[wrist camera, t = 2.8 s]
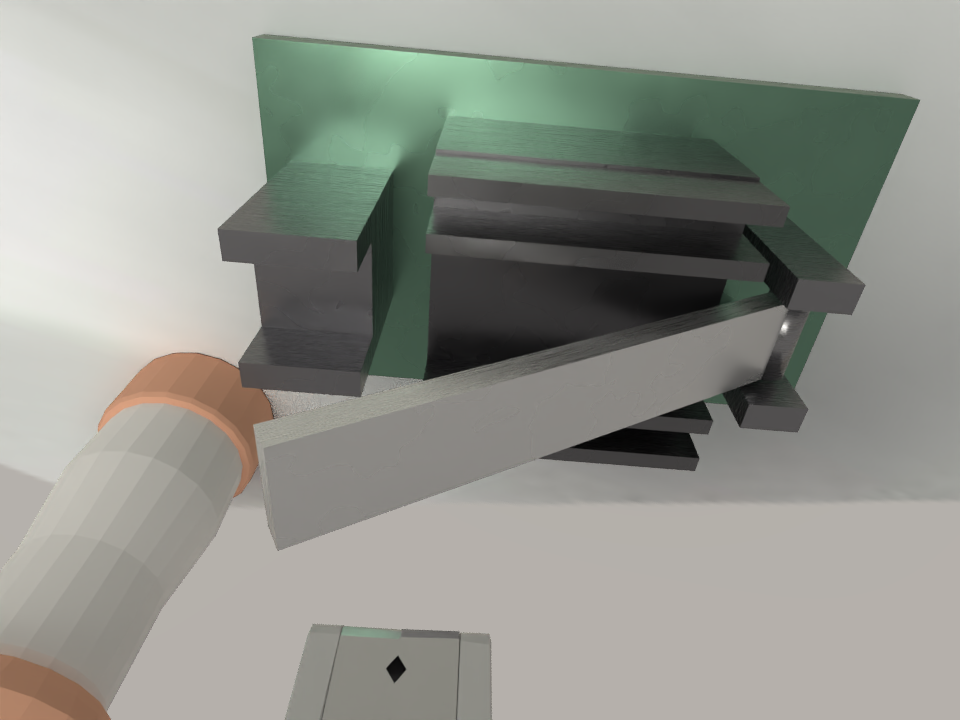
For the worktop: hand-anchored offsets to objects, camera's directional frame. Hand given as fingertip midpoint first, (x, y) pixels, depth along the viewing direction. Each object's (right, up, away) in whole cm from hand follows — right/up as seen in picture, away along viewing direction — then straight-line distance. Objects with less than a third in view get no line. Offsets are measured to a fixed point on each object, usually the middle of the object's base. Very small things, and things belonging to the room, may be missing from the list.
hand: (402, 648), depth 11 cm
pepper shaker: (-13, +2, +22) cm, 26 cm away
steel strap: (+4, +4, +7) cm, 10 cm away
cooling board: (+5, +10, +16) cm, 20 cm away
